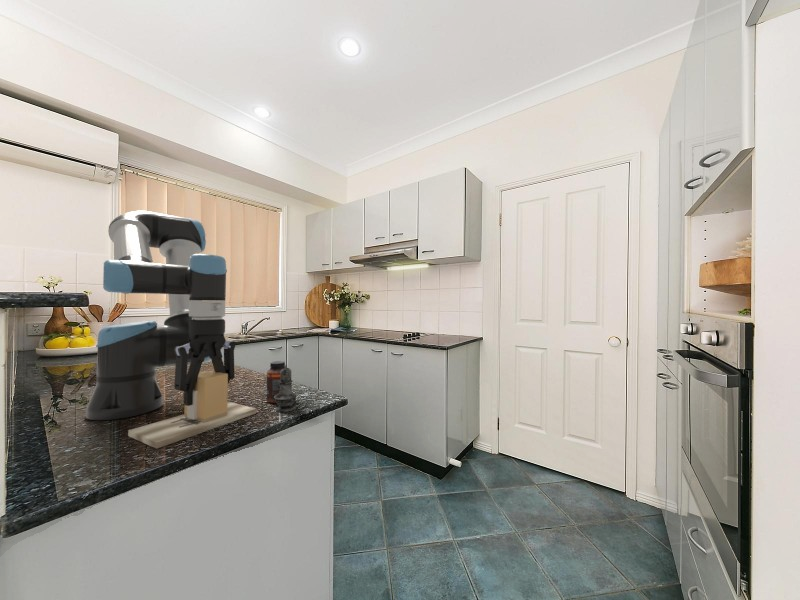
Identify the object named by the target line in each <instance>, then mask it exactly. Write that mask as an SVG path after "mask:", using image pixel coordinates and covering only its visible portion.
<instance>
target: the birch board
mask: <svg viewBox="0 0 800 600" xmlns="http://www.w3.org/2000/svg"><path fill="white" fill-rule="evenodd" d="M255 414H257V408H255V407H251V406H247V405H244V404H239V403H235V402H231V401H228V402H227V415H225V416H222V417H219V418H216V419H213V420H210V421H207V422H201V421H197V420H193V419H190V418H187V417H184V413H183V414H180V415H177V416H172V417H169V418H167V419H162V420H159V421H156V422H153V423H149V424H145V425H141V426H138V427H135V428H132V429H128V430H127V436H128V437H129V438H132V439H134V440H137V441H138V442H141V443H143V444H145V445H148V446H149V447H152V448H154V449H160V448H163V447H165V446H166V447H167V446H168V445H171V444H173V443H174V444H175V443H176V442H179V441H183V440H185V439H188V438H190V437H194V436H196V435H199V434H202V433H204V432H207V431H210V430H213V429H216V428H219V427H221V426H224V425H228V424H230V423H233V422H236V421H239V420H241V419H243V418H247V417H250V416H253V415H255Z"/></svg>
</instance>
